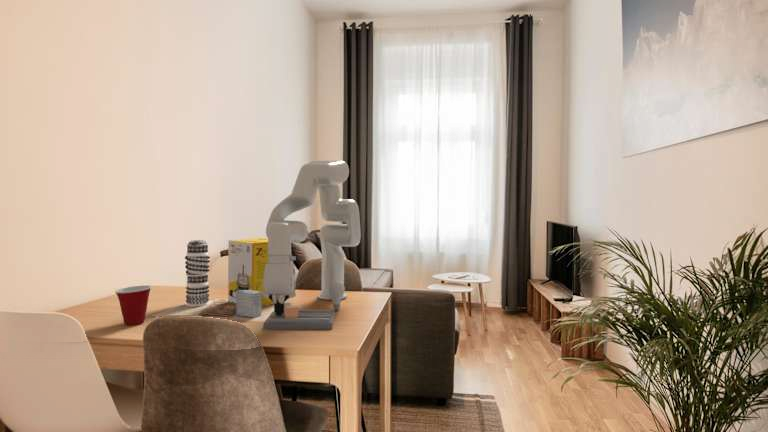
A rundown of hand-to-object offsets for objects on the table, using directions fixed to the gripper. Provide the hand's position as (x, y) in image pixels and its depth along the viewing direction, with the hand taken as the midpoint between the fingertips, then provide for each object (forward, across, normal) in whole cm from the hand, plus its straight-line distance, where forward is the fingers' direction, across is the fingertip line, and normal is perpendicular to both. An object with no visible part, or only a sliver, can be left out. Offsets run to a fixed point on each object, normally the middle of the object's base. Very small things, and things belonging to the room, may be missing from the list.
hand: (279, 314), depth 152 cm
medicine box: (+4, +13, -13) cm, 19 cm away
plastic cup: (+4, +48, -2) cm, 48 cm away
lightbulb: (+4, -18, -22) cm, 28 cm away
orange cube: (+1, -4, 0) cm, 4 cm away
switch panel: (+4, -7, -4) cm, 8 cm away
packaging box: (+4, +16, -35) cm, 39 cm away
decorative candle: (+4, +38, -30) cm, 48 cm away
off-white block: (+1, -1, -7) cm, 7 cm away
